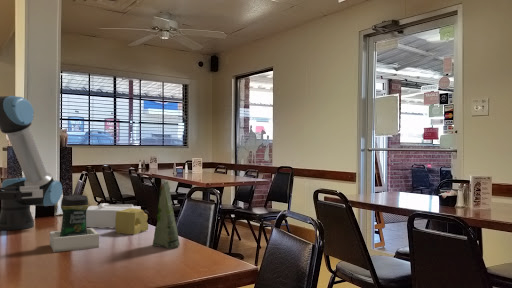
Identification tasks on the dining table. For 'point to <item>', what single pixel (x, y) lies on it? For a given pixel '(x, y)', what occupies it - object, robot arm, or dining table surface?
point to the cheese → (131, 221)
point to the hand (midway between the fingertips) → (41, 191)
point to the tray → (74, 241)
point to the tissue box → (105, 214)
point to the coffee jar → (74, 215)
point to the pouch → (165, 221)
